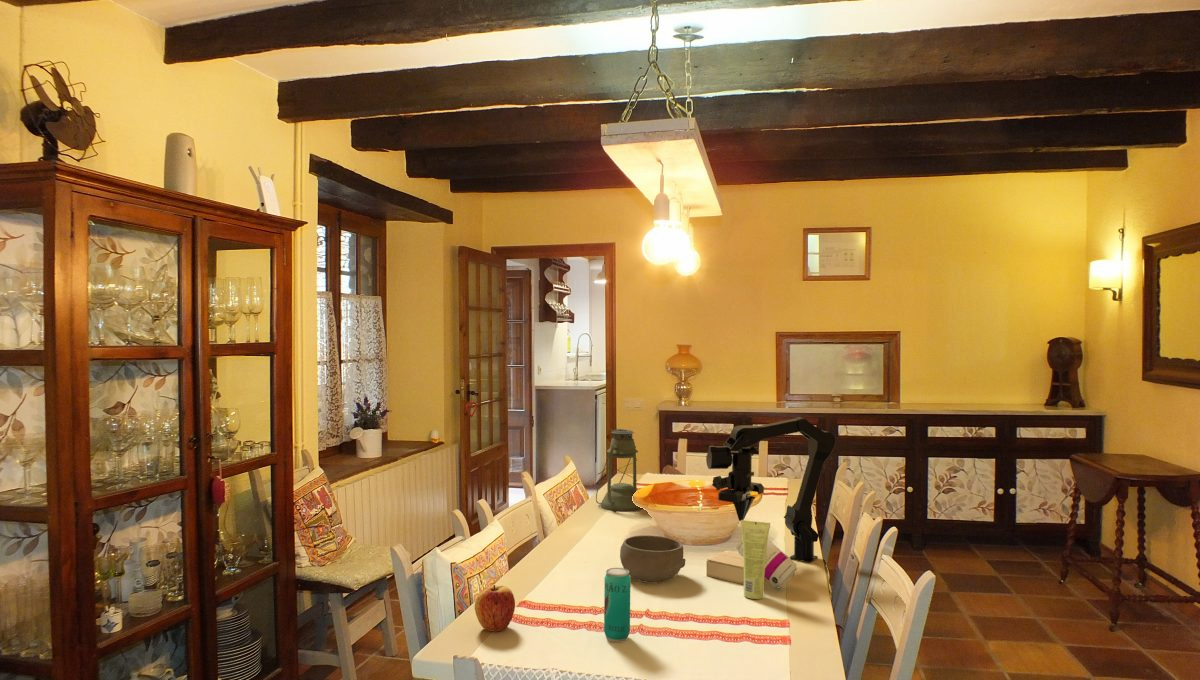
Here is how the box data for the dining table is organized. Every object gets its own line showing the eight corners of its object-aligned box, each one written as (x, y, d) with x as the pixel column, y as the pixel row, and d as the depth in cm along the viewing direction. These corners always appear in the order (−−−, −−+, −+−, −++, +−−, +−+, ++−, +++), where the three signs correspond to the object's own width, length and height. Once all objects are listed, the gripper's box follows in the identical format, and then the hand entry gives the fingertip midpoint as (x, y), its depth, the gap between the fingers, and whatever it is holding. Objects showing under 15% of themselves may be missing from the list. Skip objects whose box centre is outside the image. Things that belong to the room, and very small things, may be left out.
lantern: (626, 514, 284) (627, 434, 284) (587, 508, 294) (588, 430, 294) (653, 504, 301) (654, 428, 301) (616, 498, 311) (616, 425, 311)
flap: (727, 551, 223) (727, 550, 223) (770, 559, 215) (770, 558, 215) (718, 555, 219) (718, 554, 219) (762, 564, 211) (762, 563, 211)
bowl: (691, 573, 216) (692, 538, 216) (670, 592, 200) (670, 554, 200) (635, 564, 223) (635, 530, 223) (610, 582, 207) (610, 546, 207)
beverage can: (602, 633, 172) (603, 567, 172) (628, 633, 172) (628, 566, 172) (605, 644, 166) (605, 575, 166) (631, 643, 167) (632, 575, 166)
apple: (480, 639, 168) (480, 594, 168) (470, 624, 176) (470, 581, 176) (519, 633, 172) (520, 589, 172) (508, 619, 180) (508, 577, 180)
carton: (726, 565, 223) (726, 549, 223) (771, 575, 215) (771, 558, 215) (706, 575, 214) (706, 559, 213) (752, 586, 205) (752, 569, 205)
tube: (757, 591, 201) (758, 517, 201) (769, 598, 196) (770, 522, 196) (739, 594, 198) (740, 520, 198) (751, 601, 194) (752, 524, 194)
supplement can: (793, 568, 197) (748, 528, 205) (774, 592, 199) (731, 551, 206) (801, 564, 204) (758, 526, 212) (783, 587, 206) (741, 548, 213)
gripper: (732, 461, 240) (731, 511, 240) (702, 469, 225) (701, 522, 225) (764, 465, 233) (764, 516, 233) (736, 474, 218) (735, 528, 219)
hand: (741, 520), depth 228 cm, fingers closed
